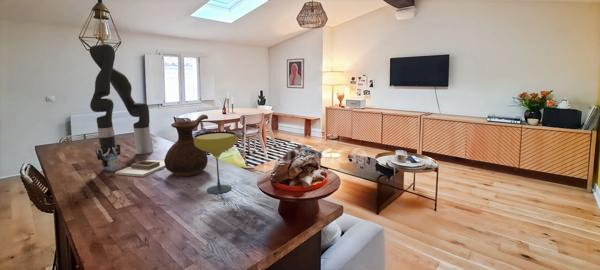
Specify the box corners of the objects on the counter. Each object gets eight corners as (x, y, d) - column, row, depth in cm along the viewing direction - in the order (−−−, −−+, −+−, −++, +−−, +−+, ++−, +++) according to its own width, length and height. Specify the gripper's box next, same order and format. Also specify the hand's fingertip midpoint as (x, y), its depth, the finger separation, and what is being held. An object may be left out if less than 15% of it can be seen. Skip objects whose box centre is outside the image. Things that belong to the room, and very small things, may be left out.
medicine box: (103, 170, 178) (100, 154, 177) (110, 167, 182) (108, 153, 181) (111, 171, 175) (109, 156, 173) (119, 169, 179) (117, 154, 177)
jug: (196, 180, 158) (191, 120, 152) (157, 178, 162) (150, 119, 156) (216, 167, 179) (212, 113, 173) (181, 166, 183) (176, 113, 177)
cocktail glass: (222, 180, 158) (219, 129, 153) (247, 187, 146) (244, 133, 141) (190, 191, 144) (184, 136, 139) (214, 200, 133) (210, 141, 128)
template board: (148, 161, 193) (147, 156, 192) (173, 163, 188) (173, 158, 187) (115, 174, 170) (114, 168, 170) (143, 176, 165) (142, 170, 165)
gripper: (112, 132, 183) (116, 161, 186) (89, 137, 169) (93, 168, 172) (122, 133, 180) (126, 162, 184) (100, 138, 167) (104, 169, 170)
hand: (110, 165), depth 178 cm, fingers open, 6 cm apart
